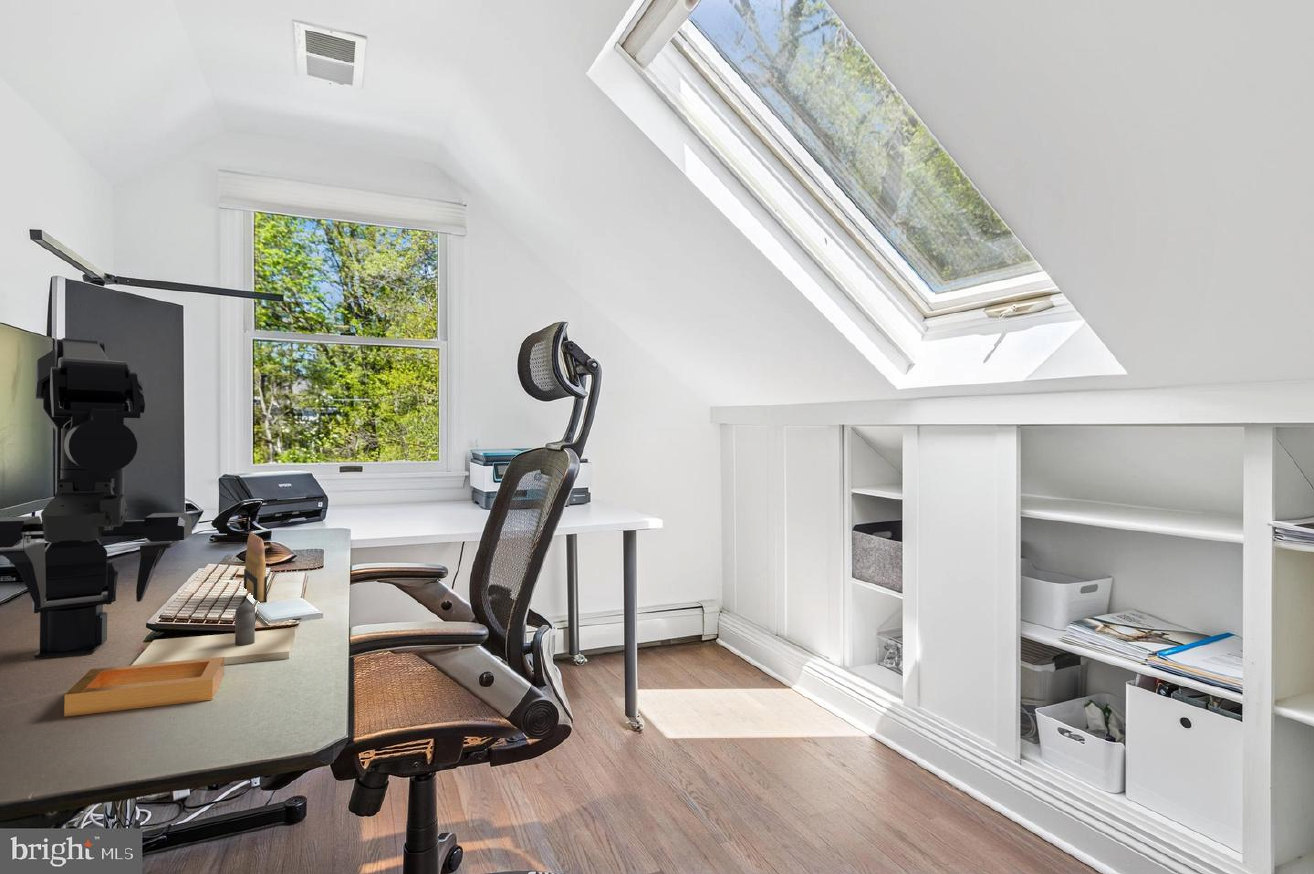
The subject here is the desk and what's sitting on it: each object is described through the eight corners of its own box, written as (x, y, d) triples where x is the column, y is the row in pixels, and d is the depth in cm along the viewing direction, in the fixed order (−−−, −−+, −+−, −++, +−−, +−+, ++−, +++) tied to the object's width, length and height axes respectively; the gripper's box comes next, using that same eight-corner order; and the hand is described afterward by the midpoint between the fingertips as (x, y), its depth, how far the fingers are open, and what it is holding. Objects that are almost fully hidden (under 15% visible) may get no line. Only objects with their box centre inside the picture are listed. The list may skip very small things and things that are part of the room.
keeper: (130, 673, 91) (131, 621, 91) (153, 646, 102) (154, 600, 102) (289, 658, 98) (289, 609, 98) (294, 634, 109) (295, 591, 109)
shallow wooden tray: (64, 716, 77) (64, 694, 77) (90, 689, 85) (91, 669, 85) (212, 699, 83) (212, 679, 83) (224, 675, 91) (224, 656, 91)
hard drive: (251, 604, 123) (268, 619, 114) (303, 597, 128) (323, 611, 119) (251, 613, 123) (268, 629, 114) (303, 606, 128) (323, 621, 119)
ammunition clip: (266, 605, 126) (267, 538, 126) (255, 607, 125) (256, 539, 125) (254, 594, 134) (255, 531, 134) (243, 595, 133) (244, 531, 133)
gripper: (-49, 473, 70) (-51, 630, 71) (175, 472, 78) (173, 613, 78) (-1, 467, 81) (-3, 604, 81) (193, 467, 88) (191, 592, 88)
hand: (91, 604), depth 82 cm, fingers open, 9 cm apart
